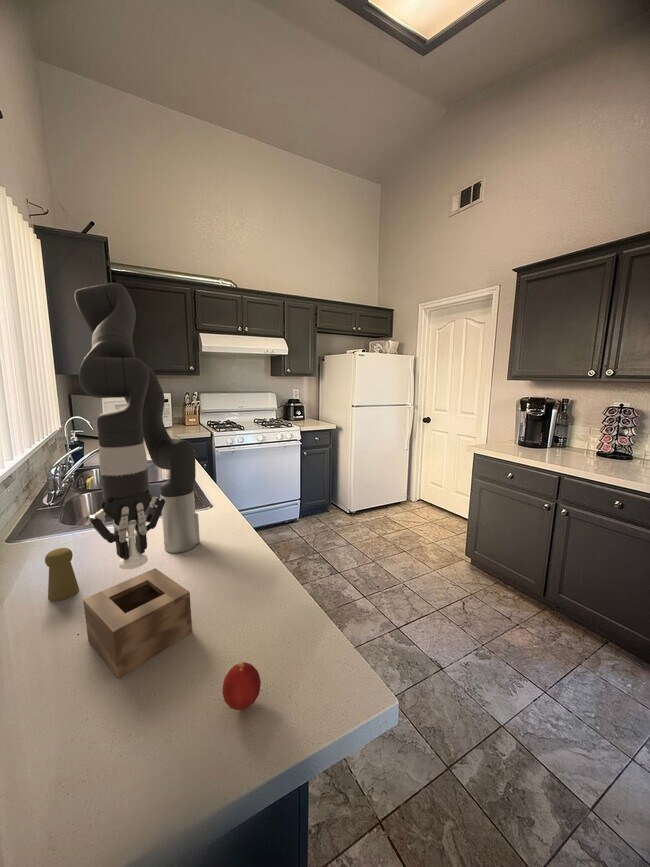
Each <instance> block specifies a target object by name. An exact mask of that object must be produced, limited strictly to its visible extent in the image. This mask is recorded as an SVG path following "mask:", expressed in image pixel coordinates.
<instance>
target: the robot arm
mask: <svg viewBox="0 0 650 867" xmlns="http://www.w3.org/2000/svg"><path fill="white" fill-rule="evenodd" d="M74 301H75V303H76V306H77V309H78V311H79V312H80V315H81V316H82V319H83V320H84V322H85V324H86V325H87V326H86V327H88V329H89V331H90V334H91V335H92V337H91V350H90V351H89V352H88V353H87V354H86V355H85V357H84V358H83V360H82V362H81V364H80V366H79V369H78V370H79V371H78V382H79V385H80V388H81V389H82V390H83V392H85V394H86V395H88V396H90V397H92V398H94V399H95V398H97V399H110V398H111V399H113V398H115V399H117V398H121V399H122V398H123V399H124V400H125V402H126V404H125V406H123V407H121V408H117V409H115V410H114V409H113V410H109V411H105V412H102V413H100V414H99V415H98V416H97V417H96V426H97V436H98V437H97V438H98V445H99V446H98V447H99V454H98V462H99V470H100V471H99V472H100V480H101V482H100V483H101V489H102V491H101V492H102V496H103V497H102V498H103V500H102V503H101V505H100V509H99V510H98V511H96V512H95V513H94V514H88V515H87V516H86V521H87V523H89V525H91V526H92V527H93V529H94V530H95V531H96V532H97V533H98V534H99V535H100V536H101V538H102V539H103V540H106V541H107V543H110V544H113V543H115V548H116V549H115V550H116V555H117V556H118V557H119V558H120V559H124V560H127V559H129V550H128V540H127V538H126V534H127V531H126V530H127V529H128V522H129V521H131V520H132V521H135V522H136V526H135V530H134V532H136V533H137V534H138V535H137V536H136V537H134V539H135V544H136V548H137V551H138V552H139V553H140V554H142V553H144V554H146V553H145V552H146V550H147V548H148V538H147V534H148V532H149V531H150V530H154V529H155V528H156V526H157V524H158V522H159V519H160V517H161V519H162V530H163V533H162V534H163V545H164V550H165V551H166V552H167V553H172V554H177V553H183V552H187V551H190V550H192V549H194V548H195V547H196V546H197V545H198V544H200V543H201V541H200V540H201V539H200V523H199V514H198V513H197V512H196V507H195V506H196V505H195V489H194V488H195V487H194V485H195V482H196V451H195V447H194V445H193V444H192V442H191V441H189V440H186V439H180V438H179V439H177V438H172V437H171V436H170V435H169V433H168V431H167V429H166V426H165V423H164V420H163V416H164V410H165V409H164V408H165V395H164V392H163V391H164V390H163V388H162V387H161V384H160V381H159V378H158V376H157V375H156V373H155V372H154V370H153V369H152V368H151V367H150V366H148V365H147V364H145V362H143V361H142V359H139V358H137V357H136V355H135V349H134V343H133V335H134V331H135V325H136V317H137V312H136V307H135V305H134V302H133V300H132V296H131V295H130V293H129V290H128V289H127V288H126V287H125V286H124V285H123V284H121V283H118V282H107V283H104V284H99V285H98V284H97V285H93V286H87V287H83V288H79V289H76V290H75V291H74ZM145 446H146V447H145ZM146 448H147V452H148V455H149V457H150V460H151V461H152V463H153V464H154V465H155V467H157V468H159V469H161V470H166V471H167V470H168V471H170V473H169V474H170V476H169V480H166V481H163V482H162V483H161V484H160V486H159V493H160V496H152V493H150V483H149V470H148V464H149V462H148V459H147V452H146ZM148 507H150V508H149V510H148V512H147V514H145V513H146V511H147V509H148ZM106 516H108V517H109V518H111V519H112V526H113V532H111V531H110V530H109V529H108V528H107V527H106V525H105V524H104V523H105V522H106V518H105V517H106ZM196 544H197V545H196Z"/></svg>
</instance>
